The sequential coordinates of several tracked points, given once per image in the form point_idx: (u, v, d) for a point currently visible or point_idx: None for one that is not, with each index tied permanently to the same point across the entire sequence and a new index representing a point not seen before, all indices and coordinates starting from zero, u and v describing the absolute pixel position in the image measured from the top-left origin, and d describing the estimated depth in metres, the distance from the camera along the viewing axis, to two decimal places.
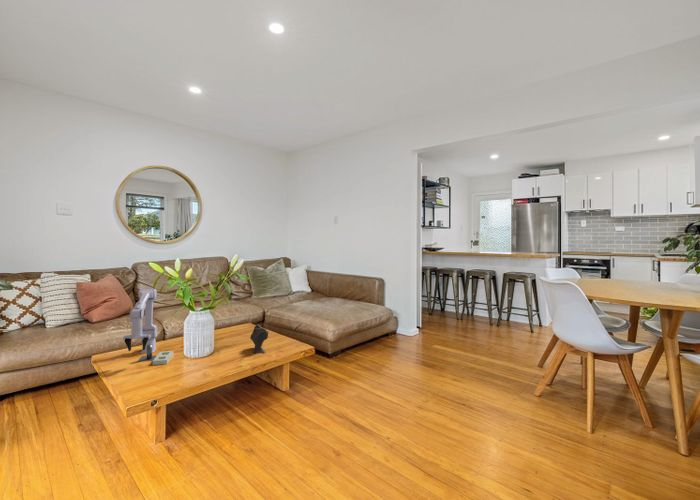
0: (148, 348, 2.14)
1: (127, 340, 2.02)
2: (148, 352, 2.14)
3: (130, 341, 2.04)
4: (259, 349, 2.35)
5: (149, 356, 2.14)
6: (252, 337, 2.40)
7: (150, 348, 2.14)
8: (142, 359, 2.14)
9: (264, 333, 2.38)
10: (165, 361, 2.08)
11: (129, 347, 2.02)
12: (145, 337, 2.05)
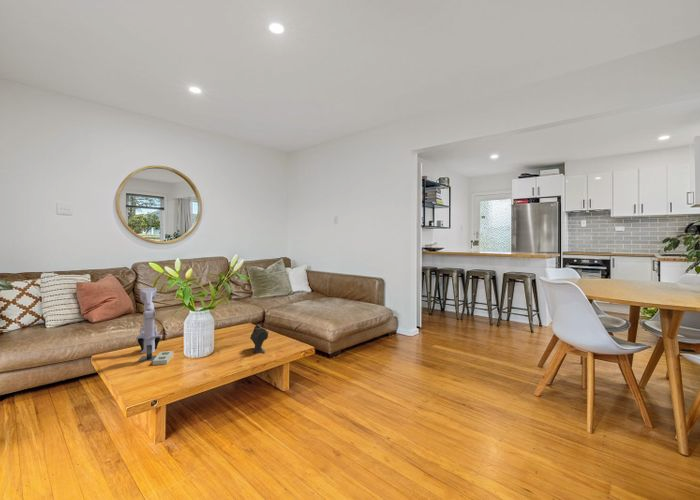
0: (148, 348, 2.14)
1: (140, 340, 2.12)
2: (148, 352, 2.14)
3: (143, 341, 2.15)
4: (259, 349, 2.35)
5: (149, 356, 2.14)
6: (252, 337, 2.40)
7: (150, 348, 2.14)
8: (142, 359, 2.14)
9: (264, 333, 2.38)
10: (165, 361, 2.08)
11: (142, 347, 2.13)
12: (157, 337, 2.16)
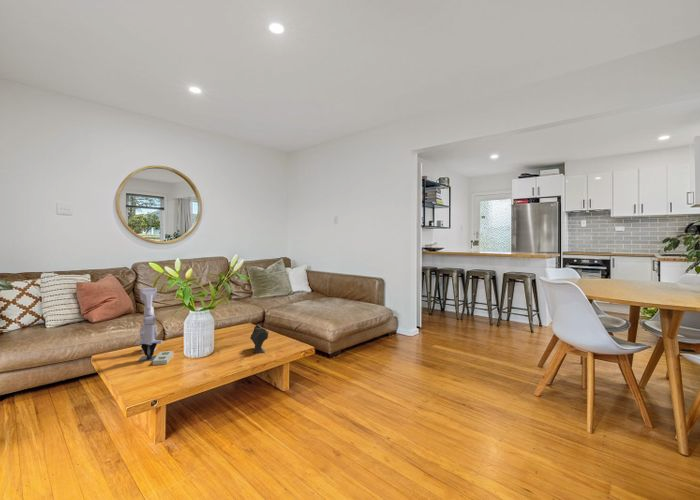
0: (148, 348, 2.14)
1: (144, 345, 2.13)
2: (148, 352, 2.14)
3: (146, 346, 2.15)
4: (259, 349, 2.35)
5: (149, 356, 2.14)
6: (252, 337, 2.40)
7: (150, 348, 2.14)
8: (142, 359, 2.14)
9: (264, 333, 2.38)
10: (165, 361, 2.08)
11: (145, 352, 2.14)
12: (157, 342, 2.16)
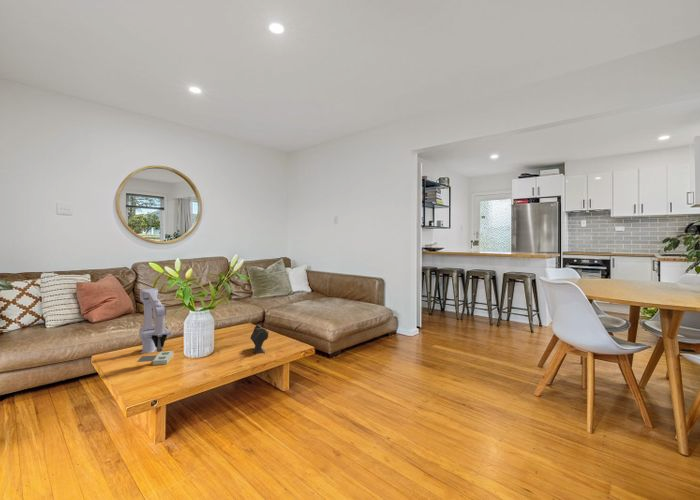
0: (159, 340, 2.10)
1: (154, 337, 2.09)
2: (159, 344, 2.10)
3: (156, 338, 2.11)
4: (259, 349, 2.35)
5: (160, 348, 2.10)
6: (252, 337, 2.40)
7: (161, 340, 2.11)
8: (142, 359, 2.14)
9: (264, 333, 2.38)
10: (165, 361, 2.08)
11: (156, 343, 2.10)
12: (167, 334, 2.12)
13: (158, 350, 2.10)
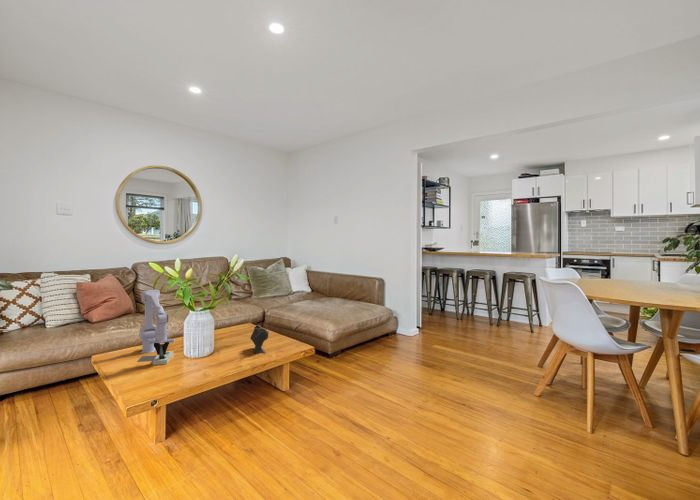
0: (161, 347, 2.09)
1: (156, 344, 2.08)
2: (161, 351, 2.10)
3: None
4: (259, 349, 2.34)
5: (162, 355, 2.10)
6: (252, 337, 2.40)
7: (163, 347, 2.10)
8: (142, 359, 2.14)
9: (264, 333, 2.38)
10: (165, 361, 2.08)
11: (158, 351, 2.09)
12: (169, 341, 2.12)
13: (160, 358, 2.10)
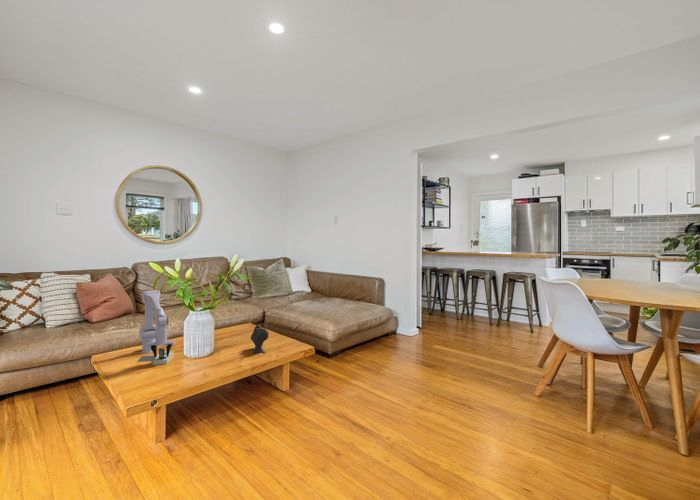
0: (161, 351, 2.10)
1: (153, 347, 2.08)
2: (161, 356, 2.10)
3: (156, 348, 2.11)
4: (259, 349, 2.34)
5: None
6: (252, 337, 2.40)
7: (163, 351, 2.10)
8: (142, 359, 2.14)
9: (264, 333, 2.37)
10: (165, 361, 2.08)
11: (155, 354, 2.09)
12: (169, 344, 2.12)
13: None
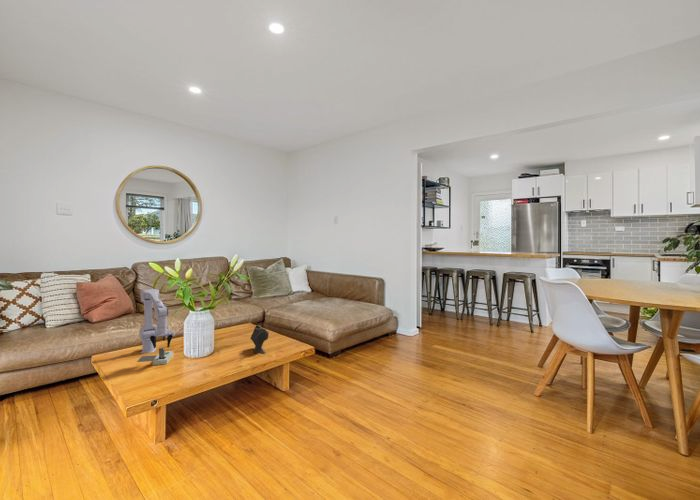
0: (161, 351, 2.10)
1: (152, 337, 2.08)
2: (161, 356, 2.10)
3: (155, 339, 2.10)
4: (259, 349, 2.34)
5: None
6: (252, 337, 2.40)
7: (163, 351, 2.10)
8: (142, 359, 2.14)
9: (264, 333, 2.37)
10: (165, 361, 2.08)
11: (154, 344, 2.09)
12: None
13: None
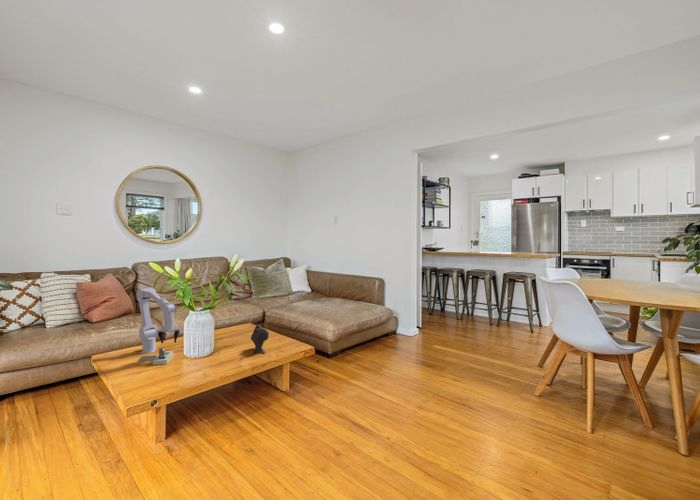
0: (161, 351, 2.10)
1: (160, 333, 2.17)
2: (161, 356, 2.10)
3: (162, 334, 2.19)
4: (259, 350, 2.34)
5: None
6: (252, 338, 2.39)
7: (163, 351, 2.10)
8: (142, 359, 2.14)
9: (264, 334, 2.37)
10: (165, 361, 2.08)
11: (162, 340, 2.18)
12: (176, 330, 2.21)
13: None
